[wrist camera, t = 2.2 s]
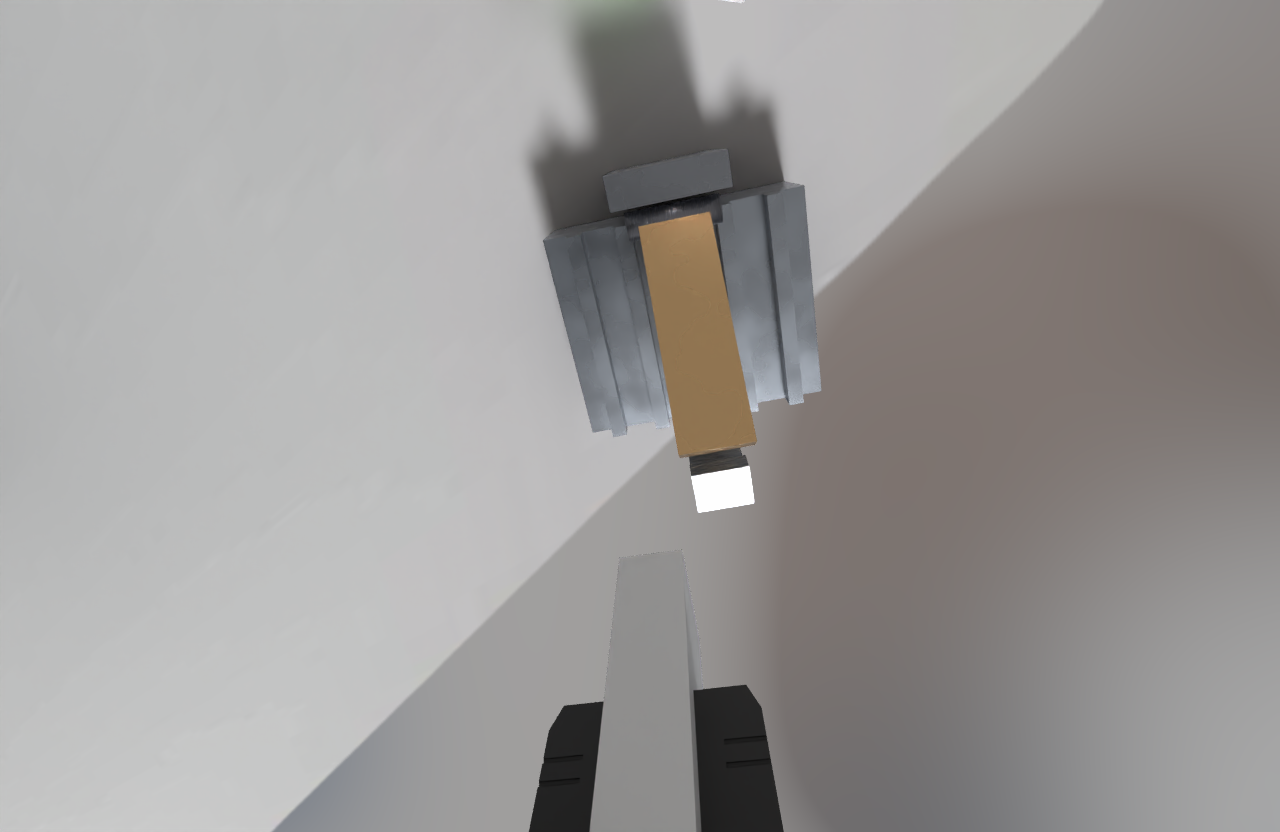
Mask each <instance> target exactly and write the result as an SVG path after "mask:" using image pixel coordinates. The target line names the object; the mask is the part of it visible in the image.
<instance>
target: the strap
mask: <svg viewBox="0 0 1280 832" xmlns="http://www.w3.org/2000/svg"><path fill="white" fill-rule="evenodd" d="M624 218H625V224H626V229H627V234H628V238H629V242H633V241H638V240H641V245H642V250H643V256H644V262H645V267H646V273H647V279H648V284H649V290H650V296H651V301H652V307H653V313H654V318H655V324H656V330H657V335H658V341H659V347H660V352H661V358H662V364H663V369H664V375H665V380H666V386H667V392H668V397H669V403H670V409H671V414H672V420H673V426H674V431H675V437H676V443H677V448H678V454H679V457H680V458H684V457H690V456H695V455H701V454H707V453H712V452H718V451H724V450H729V449H735V448H741V447H746V446H751V445H755V444H756V442H757V439H756V435H755V429H754V425H753V419H752V415H751V410H750V405H749V400H748V395H747V390H746V385H745V380H744V375H743V371H742V366H741V361H740V356H739V351H738V346H737V341H736V336H735V331H734V327H733V322H732V317H731V312H730V307H729V302H728V297H727V292H726V287H725V283H724V278H723V273H722V268H721V263H720V258H719V253H718V248H717V244H716V239H715V234H714V229H713V225H715V224H720V223H723V213H722V205H721V200H720V196H719V193H716V194H711V195H707V196H702V197H697V198H693V199H688V200H683V201H679V202H674V203H669V204H665V205H660V206H655V207H651V208H646V209H641V210H637V211H632V212H627V213H624Z"/></svg>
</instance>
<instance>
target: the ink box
mask: <svg viewBox="0 0 1280 832" xmlns="http://www.w3.org/2000/svg"><path fill="white" fill-rule="evenodd" d="M723 1H730V2H738V3H742V2H744V1H746V0H723Z"/></svg>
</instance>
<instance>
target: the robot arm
mask: <svg viewBox="0 0 1280 832" xmlns="http://www.w3.org/2000/svg"><path fill="white" fill-rule="evenodd" d="M529 832H784V831H783V825H782V820H781V814H780V809H779V803H778V797H777V792H776V786H775V781H774V775H773V770H772V765H771V759H770V754H769V747H768V742H767V736H766V731H765V725H764V720H763V714H762V708H761V706H760V705H759V703H758V702H757V700H756V699H755V697H754V696H753V694H752V693H751V691H750V690H749V688H748V687H747V685H740V686H730V687H721V688H711V689H703V678H702V664H701V651H700V639H699V633H698V628H697V623H696V618H695V613H694V607H693V602H692V597H691V591H690V586H689V581H688V576H687V571H686V566H685V561H684V555H683V551H682V549H681V550H674V551H667V552H659V553H651V554H644V555H636V556H629V557H622V558H619V566H618V576H617V584H616V594H615V603H614V612H613V622H612V630H611V639H610V649H609V657H608V667H607V676H606V685H605V695H604V702H595V703H587V704H577V705H567V706H564V707H563V708H562V710H561V712H560V714H559V715H558V717H557V719H556V720H555V722H554V723H553V725H552V727H551V728H550V730H549V733H548V738H547V743H546V748H545V753H544V764H542V769H541V774H540V779H539V787H538V789H537V794H536V799H535V804H534V809H533V814H532V819H531V824H530V829H529Z"/></svg>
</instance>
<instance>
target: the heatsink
mask: <svg viewBox="0 0 1280 832" xmlns="http://www.w3.org/2000/svg"><path fill="white" fill-rule="evenodd" d="M602 177H603V182H604V186H605V191H606V196H607V201H608V205H609V210H610V213H612V212H617V211H622V210H627V209H631V208H636V207H641V206H645V205H650V204H655V203H659V202H664V201H669V200H673V199H678V198H683V197H687V196H692V195H697V194H701V193H706V192H711V191H715V190H720V189H725V188H729V187H733V183H732V176H731V168H730V160H729V152H728V149H715V150H706V151H701V152H697V153H692V154H688V155H683V156H679V157H674V158H670V159H665V160H661V161H656V162H651V163H647V164H642V165H638V166H633V167H629V168H624V169H620V170H615V171H611V172H609V173H607V174H606V175H604V176H602ZM719 196H720V200H721V205H722V213H723V223H720V224H715V225H713V229H714V234H715V239H716V244H717V248H718V253H719V258H720V263H721V268H722V273H723V278H724V283H725V287H726V292H727V297H728V302H729V307H730V312H731V317H732V322H733V327H734V331H735V336H736V341H737V346H738V351H739V356H740V361H741V366H742V371H743V375H744V380H745V385H746V390H747V395H748V400H749V405H750V410H751V412H754V411H758V403H757V402H762V401H768V400H774V399H779V398H786V400H787V401H788V403H789V405H793V404H798V403H803V402H804V401H803V394H807V393H812V392H817V391H821V382H820V370H819V357H818V345H817V333H816V322H815V309H814V297H813V285H812V273H811V261H810V249H809V237H808V225H807V213H806V201H805V189H804V185H800V184H795V183H790V182H785V181H784V182H779V183H775V184H770V185H765V186H761V187H756V188H751V189H747V190H742V191H737V192H733V193H728V194H723V195H719ZM543 242H544V246H545V250H546V254H547V258H548V261H549V265H550V269H551V273H552V277H553V281H554V285H555V288H556V292H557V296H558V300H559V304H560V308H561V311H562V315H563V319H564V323H565V327H566V331H567V334H568V338H569V342H570V346H571V350H572V354H573V358H574V361H575V365H576V369H577V373H578V377H579V381H580V384H581V388H582V392H583V396H584V400H585V404H586V408H587V411H588V415H589V419H590V423H591V427H592V431H593V432H598V431H604V430H609V429H612V433H613V437H616V436H621V435H627V426H631V425H637V424H642V423H648V422H653V421H655V424H656V429H660V428H666V427H670V420H669V419H670V418H672V414H671V409H670V403H669V397H668V392H667V386H666V380H665V375H664V369H663V364H662V358H661V352H660V347H659V341H658V335H657V330H656V324H655V318H654V313H653V307H652V301H651V296H650V290H649V284H648V279H647V273H646V267H645V262H644V256H643V250H642V245H641V240H638V241H633V242H629V238H628V234H627V229H626V224H625V218H624V216H620V217H615V218H610V219H606V220H601V221H596V222H592V223H587V224H582V225H578V226H573V227H568V228H564V229H559V230H555V231H554V232H552V233H551V234H550V235H549V236H548V237H547V238H546V239H544V240H543ZM689 459H690V469H691V476H692V482H693V487H694V492H695V497H696V502H697V507H698V512H705V511H711V510H716V509H722V508H728V507H734V506H740V505H746V504H752V503H754V497H753V490H752V483H751V476H750V469H749V465H748V462H747V459H746V456H745V455H743V456H742V453H741V450H740V448H735V449H729V450H724V451H718V452H712V453H707V454H701V455H695V456H690V457H689Z"/></svg>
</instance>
